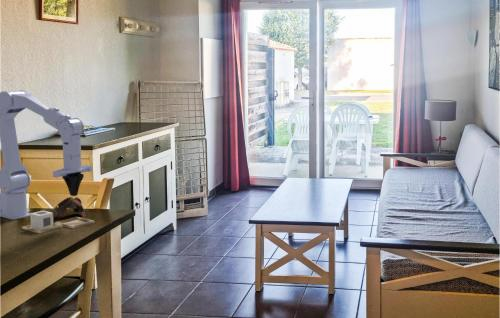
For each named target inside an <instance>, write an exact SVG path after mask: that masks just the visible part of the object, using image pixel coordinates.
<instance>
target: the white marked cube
mask: <svg viewBox="0 0 500 318" xmlns="http://www.w3.org/2000/svg"><path fill="white" fill-rule="evenodd" d="M30 213H31V214H30V216H29V217H30V225H31V229H35V230H39V231H40V230H44V229H48V228H52V227H54V226H53V223H54V212H50V211H47V210H40V211H35V212H30Z"/></svg>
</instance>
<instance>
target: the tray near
mask: <svg viewBox="0 0 500 318" xmlns="http://www.w3.org/2000/svg"><path fill="white" fill-rule="evenodd" d="M53 226H54V227H52V228H48V229H44V230H40V231H39V230H35V229H31V224H27V225H24V226H21V230H25V231H28V232H32V233H35V234H42V233H47V232H50V231H55V230H58V229H61V228H63V226H62V225H60V224H55V222H53Z"/></svg>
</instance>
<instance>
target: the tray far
mask: <svg viewBox="0 0 500 318" xmlns="http://www.w3.org/2000/svg"><path fill="white" fill-rule="evenodd" d="M54 223H55V224H60V225H62V227H64V228H68V229H73V230H74V229H77V228H80V227H85V226H88V225H91V224H94V223H95V220H91V219H89V218H82V217H79V216H74V217H70V218H66V219H63V220H58V221H54Z"/></svg>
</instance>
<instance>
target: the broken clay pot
mask: <svg viewBox="0 0 500 318" xmlns="http://www.w3.org/2000/svg"><path fill="white" fill-rule="evenodd" d="M82 203H83V202H82V200H81V198H79V197H76V196H75V197H74V198H73V196H69V197H66V198H65V199H62V200H61V201H59V203H57V206H55V207H54V210H55V216H57V217H61V215H63V214H66V215H68V213H67V212H68V209H69V210H73V212H74V213H80V216H81V218H84V219H86V216H87V214H86V212H85V211H86V210H85V208H84V206H83V204H82Z"/></svg>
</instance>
